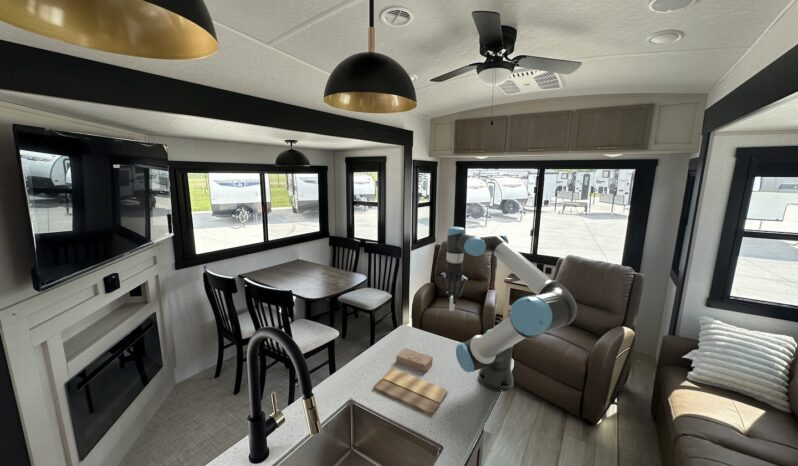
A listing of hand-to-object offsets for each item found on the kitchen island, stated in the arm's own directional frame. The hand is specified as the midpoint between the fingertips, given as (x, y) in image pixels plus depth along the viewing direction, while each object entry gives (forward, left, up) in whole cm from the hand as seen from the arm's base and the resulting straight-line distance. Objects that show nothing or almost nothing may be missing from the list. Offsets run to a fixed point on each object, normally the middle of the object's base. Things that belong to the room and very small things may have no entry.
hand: (451, 309), depth 144 cm
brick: (+15, +7, -30) cm, 34 cm away
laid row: (+7, +30, -29) cm, 43 cm away
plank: (+7, +22, -29) cm, 37 cm away
